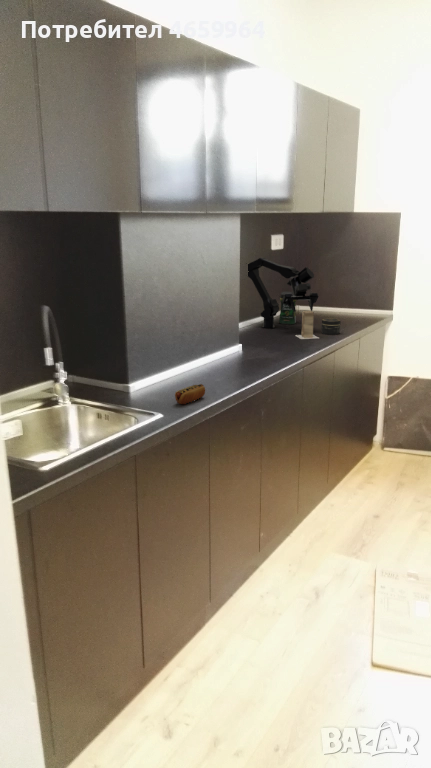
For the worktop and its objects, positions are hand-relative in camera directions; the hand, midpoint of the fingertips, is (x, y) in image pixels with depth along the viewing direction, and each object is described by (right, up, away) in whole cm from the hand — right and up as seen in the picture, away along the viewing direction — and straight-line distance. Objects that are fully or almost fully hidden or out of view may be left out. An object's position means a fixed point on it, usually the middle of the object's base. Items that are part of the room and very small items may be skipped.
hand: (303, 311), depth 305 cm
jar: (+15, -12, +6) cm, 20 cm away
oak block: (+1, -14, -3) cm, 14 cm away
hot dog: (-55, -45, -106) cm, 128 cm away
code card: (+1, -14, -3) cm, 14 cm away
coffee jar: (-4, -3, +37) cm, 37 cm away
